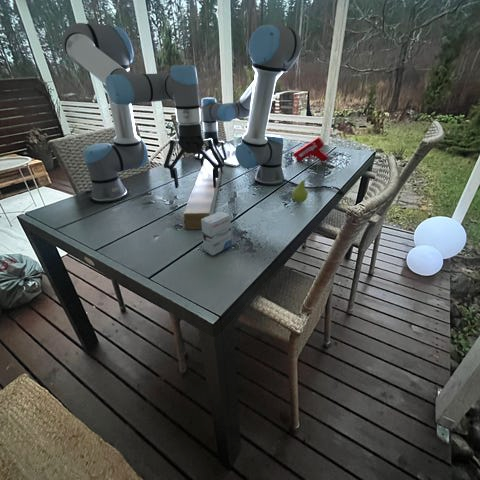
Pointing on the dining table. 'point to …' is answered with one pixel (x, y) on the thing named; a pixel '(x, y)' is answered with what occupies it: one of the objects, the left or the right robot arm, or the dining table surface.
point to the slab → (202, 197)
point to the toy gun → (312, 151)
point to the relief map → (229, 152)
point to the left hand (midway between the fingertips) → (196, 186)
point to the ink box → (216, 232)
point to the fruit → (300, 192)
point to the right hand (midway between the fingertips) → (213, 171)
